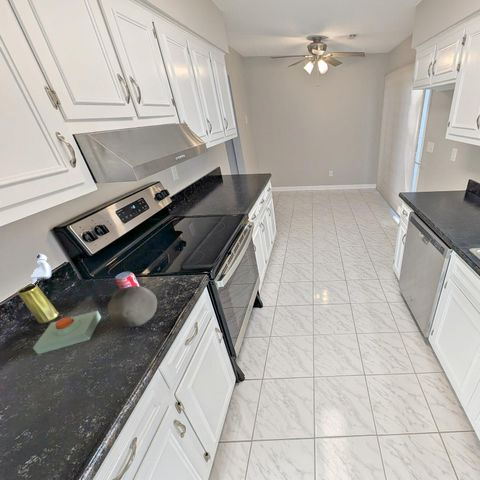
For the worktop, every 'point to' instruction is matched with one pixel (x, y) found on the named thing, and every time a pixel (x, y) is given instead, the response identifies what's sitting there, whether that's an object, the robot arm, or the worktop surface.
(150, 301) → the cantaloupe
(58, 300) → the worktop surface
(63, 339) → the green push-button pad
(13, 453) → the worktop surface
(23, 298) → the vase
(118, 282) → the soda can
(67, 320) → the button
